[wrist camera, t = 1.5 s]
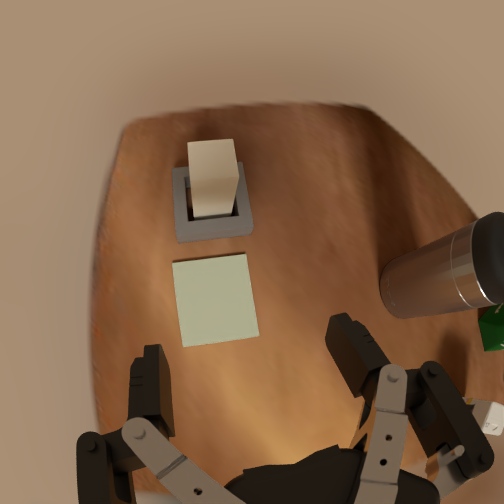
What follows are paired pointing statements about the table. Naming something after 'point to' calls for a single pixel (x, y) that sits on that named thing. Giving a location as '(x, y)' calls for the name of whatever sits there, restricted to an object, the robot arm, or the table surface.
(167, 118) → the table surface
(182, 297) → the mat
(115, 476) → the robot arm
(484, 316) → the milk carton
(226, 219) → the grey square frame
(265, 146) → the table surface
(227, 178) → the cream carton
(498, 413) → the ink box
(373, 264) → the table surface
